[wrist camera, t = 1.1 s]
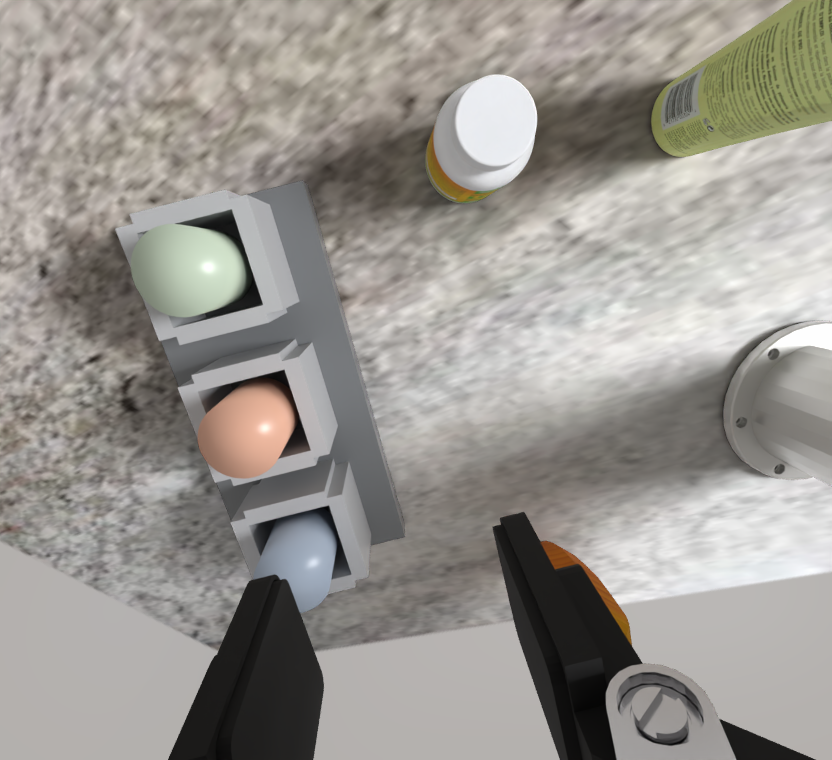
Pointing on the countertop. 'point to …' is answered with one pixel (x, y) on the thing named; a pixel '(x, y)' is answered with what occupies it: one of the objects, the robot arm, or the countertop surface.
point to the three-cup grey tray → (283, 374)
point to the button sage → (190, 269)
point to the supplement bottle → (481, 138)
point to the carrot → (565, 558)
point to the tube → (752, 84)
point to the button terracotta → (248, 428)
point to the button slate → (302, 555)
